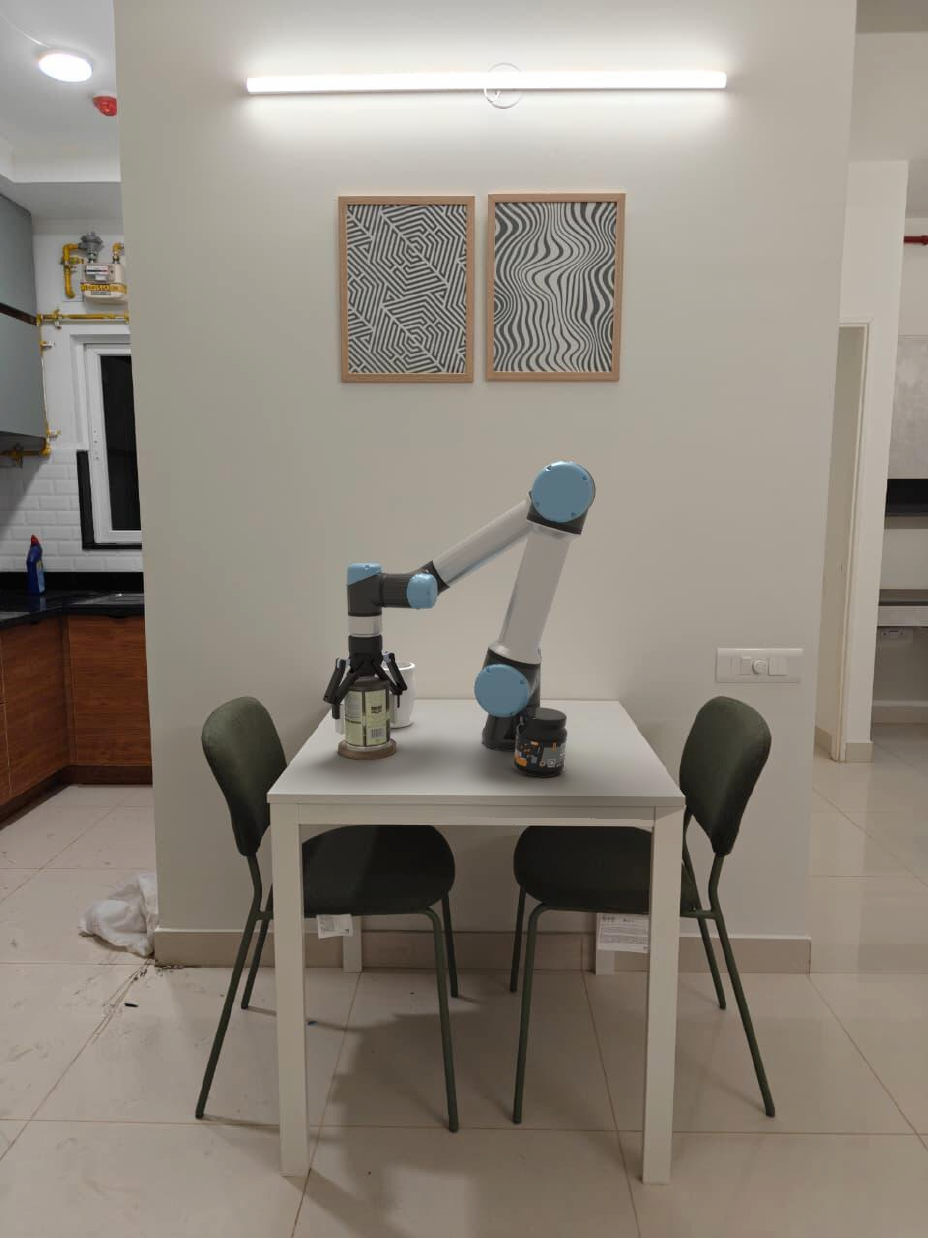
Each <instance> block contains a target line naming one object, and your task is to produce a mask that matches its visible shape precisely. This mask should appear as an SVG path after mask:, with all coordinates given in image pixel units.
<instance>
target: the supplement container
mask: <svg viewBox="0 0 928 1238" xmlns="http://www.w3.org/2000/svg"><path fill="white" fill-rule="evenodd" d="M567 720H568V717H567V715H566V714H565V712H562V711H560V710H558V709H555V708H549V707H543V706H540V707H530V708H525V709H523V710H521V712H520V723H519V724H518V725H517V728H516V731H517V734H516V744H515V751H514V757H513V765H514V767H515V768H516V769H517V770H518V771H519V772H521V773H523V774H526V775H529V776H534V777H543V778H546V777H547V778H549V777H553V776H557V775H559V774H560V773H562V772H563V770H564V768H565V756H566V745H567V738H568V733H569V732H568V729H566V726H567Z"/></svg>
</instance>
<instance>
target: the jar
mask: <svg viewBox="0 0 928 1238" xmlns="http://www.w3.org/2000/svg"><path fill="white" fill-rule="evenodd" d="M395 662H396V664H397V666H398V668H399V670H400V673H401V675H402V677H403V679H404V681H405V683H406V685H407V690H406V691H403V694H402V695H400V707H399V708H397V724H393V723H391V722H390V729H397V728H405V727H408V726H410V725H411V724H412V722H413V721H412V719H411V715H412V713H413V710H414V706H415V705H414V704H415V699H416V679H415V674H414V671H415V669H416V664H415V663H412V662H407V661H399V660H398V661H397V660H395ZM380 666H381V667H382V668H383V669H384V671H385V673H386V674H387V675H388V676H389V677H390V679H391V680H392V681H393V682H394V683H395V681H394V679H393V677H392V675H391V673H390V671H389V669H388V667H387V665H386V662H384V661H383V662H382V664H381V665H380ZM375 677H378V676H377V675H376V674H375ZM395 684H396V683H395ZM390 693H391V694H392V692H391V691H390V690H389V694H390Z"/></svg>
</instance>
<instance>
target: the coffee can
mask: <svg viewBox="0 0 928 1238" xmlns="http://www.w3.org/2000/svg"><path fill="white" fill-rule="evenodd" d="M389 685H390V681H389V680H382V679H380V678H379V677H359V678H358V680H356V681H355V682H354V684H353V685H352V686H349V689H350V690H349V691H348V693H347V695H346V696H345V698H344V699H343V705H344V726H345V734H344V737H345V739H344V740H345V745H346V746H347V747H350V748H353V749H362V750H363V749H365V750H370V749H377V748H382V747H385V746H387V745H389V744H390V743H391V740H390V738H391V728H390V700H389Z"/></svg>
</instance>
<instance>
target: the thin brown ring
mask: <svg viewBox="0 0 928 1238" xmlns="http://www.w3.org/2000/svg"><path fill="white" fill-rule="evenodd" d="M390 740H391V743H390V744H389V745H387V746H385V747H382V748H377V749H370V750H365V749H363V750H362V749H353V748H350V747H347V746H346V745H345V739H342V740H341V741H339V742H338V745H337V752H338V754H339V755H340V756H341V757H343V758H346V759H351V760H359V761H360V760H364V761H366V760H378V759H384V758H388V757H390V756H392V755H394V754H395V753H396V752H397V750H398V749H397V741H396V740H395V739H394V738H391V737H390Z"/></svg>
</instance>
